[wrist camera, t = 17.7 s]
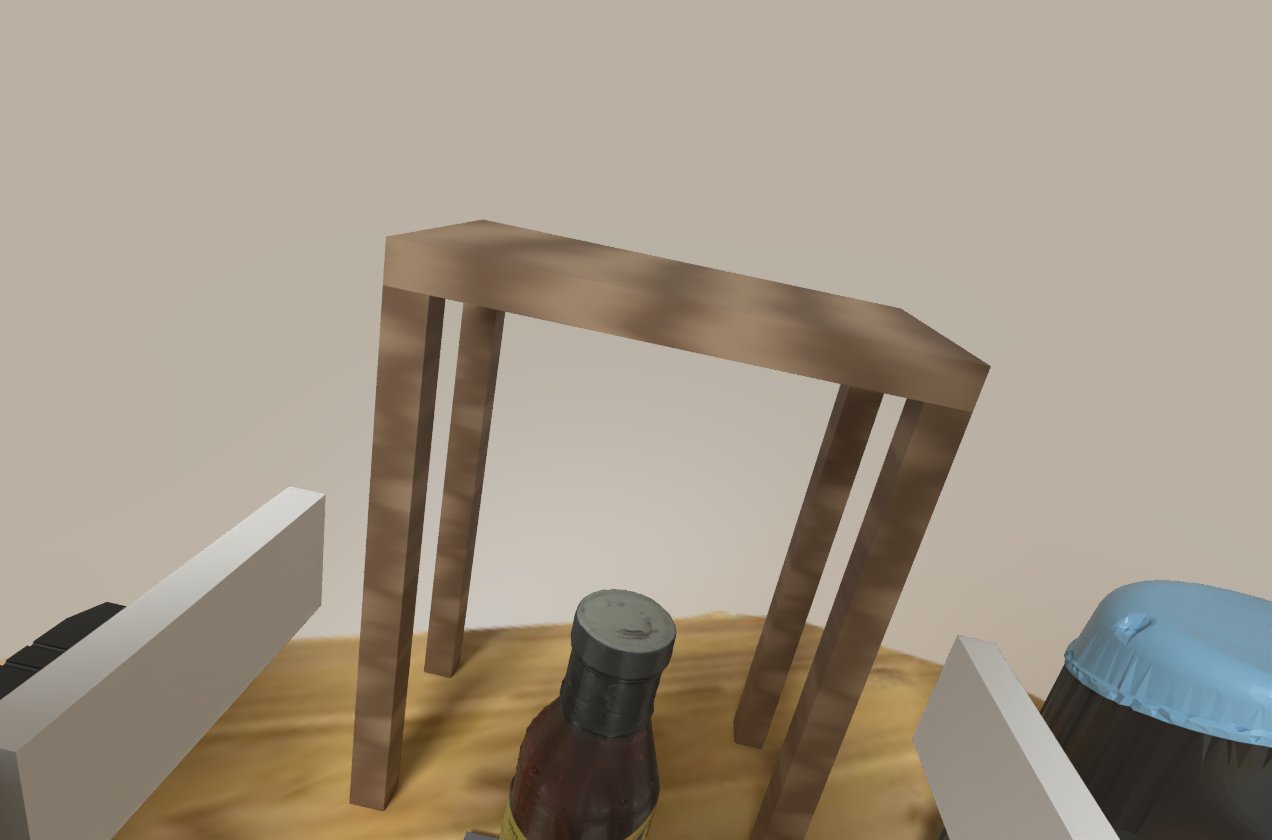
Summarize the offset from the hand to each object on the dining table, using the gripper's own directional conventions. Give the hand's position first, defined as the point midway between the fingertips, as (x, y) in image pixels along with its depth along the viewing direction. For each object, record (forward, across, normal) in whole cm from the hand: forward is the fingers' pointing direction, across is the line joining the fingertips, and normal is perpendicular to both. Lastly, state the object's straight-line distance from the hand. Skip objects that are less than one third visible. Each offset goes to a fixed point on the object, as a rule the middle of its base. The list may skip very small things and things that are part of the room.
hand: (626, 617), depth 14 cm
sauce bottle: (+10, 0, -28) cm, 29 cm away
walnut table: (+22, 0, -28) cm, 36 cm away
